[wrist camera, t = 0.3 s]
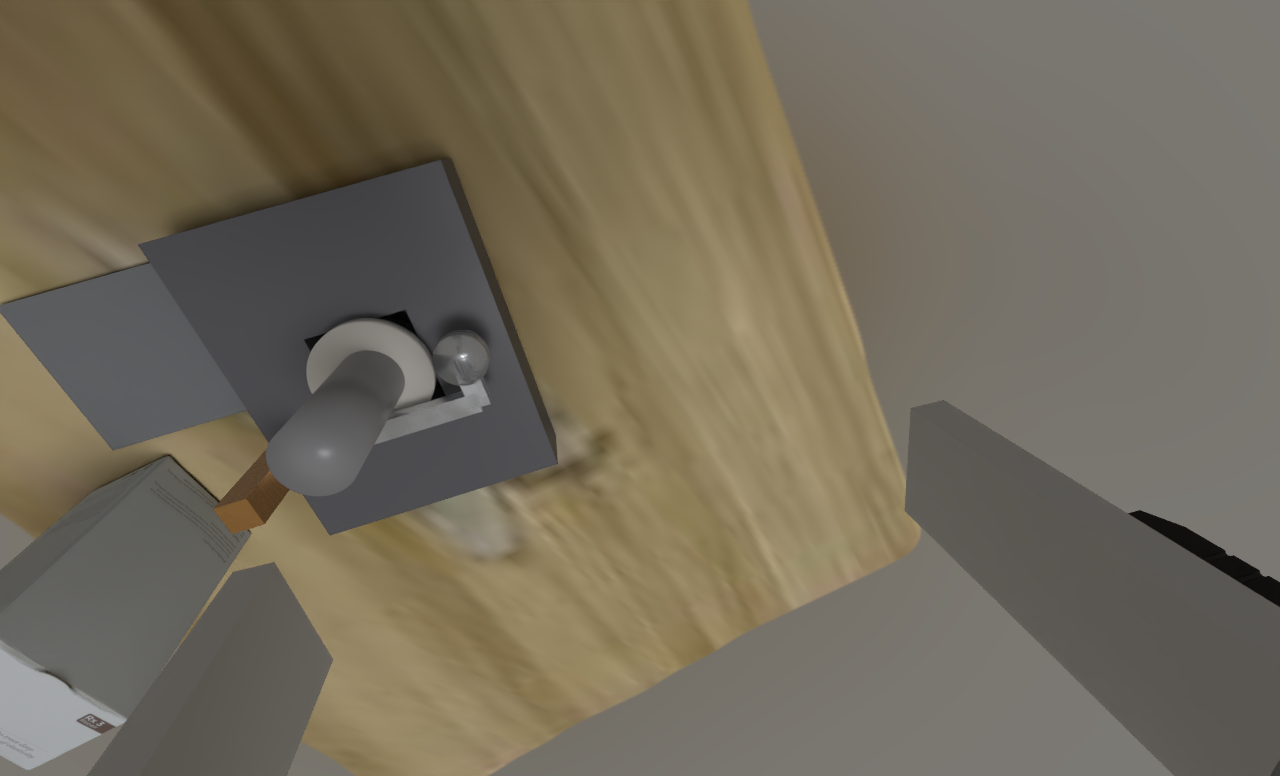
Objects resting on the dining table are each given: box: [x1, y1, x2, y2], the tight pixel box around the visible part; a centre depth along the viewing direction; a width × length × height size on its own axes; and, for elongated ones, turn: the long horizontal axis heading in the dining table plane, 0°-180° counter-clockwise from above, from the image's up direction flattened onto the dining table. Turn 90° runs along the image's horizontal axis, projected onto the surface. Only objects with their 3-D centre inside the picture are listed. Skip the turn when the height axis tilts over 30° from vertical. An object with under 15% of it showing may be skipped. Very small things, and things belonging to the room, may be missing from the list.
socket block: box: [138, 159, 558, 535], centre depth 33 cm, size 20×16×6 cm
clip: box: [213, 330, 492, 534], centre depth 28 cm, size 5×14×6 cm, turn 104°
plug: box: [266, 317, 437, 496], centre depth 29 cm, size 7×7×14 cm
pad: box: [0, 263, 247, 450], centre depth 33 cm, size 10×10×1 cm
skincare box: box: [0, 456, 251, 770], centre depth 31 cm, size 8×6×15 cm
